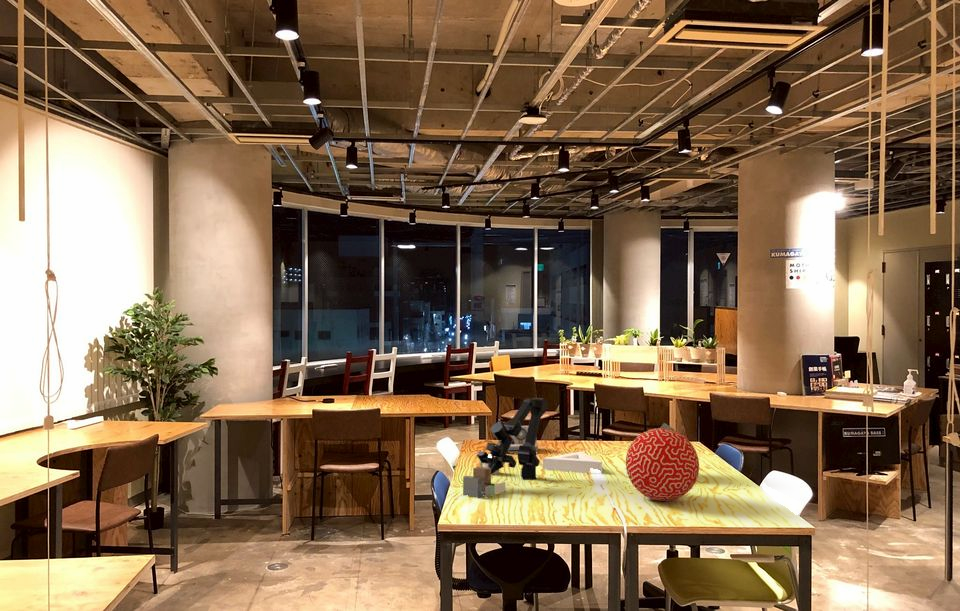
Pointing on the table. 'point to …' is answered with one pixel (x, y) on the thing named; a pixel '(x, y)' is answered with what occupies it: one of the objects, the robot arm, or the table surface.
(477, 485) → the grey square slab
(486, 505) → the table surface
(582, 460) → the triangular ruler
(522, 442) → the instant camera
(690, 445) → the ball
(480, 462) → the cup
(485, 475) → the gauge carriage
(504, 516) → the table surface
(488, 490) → the gauge base
